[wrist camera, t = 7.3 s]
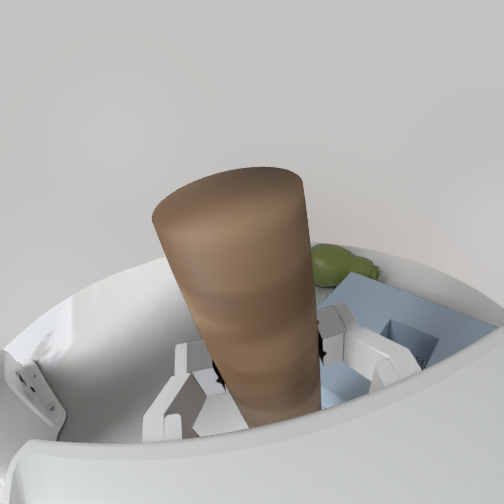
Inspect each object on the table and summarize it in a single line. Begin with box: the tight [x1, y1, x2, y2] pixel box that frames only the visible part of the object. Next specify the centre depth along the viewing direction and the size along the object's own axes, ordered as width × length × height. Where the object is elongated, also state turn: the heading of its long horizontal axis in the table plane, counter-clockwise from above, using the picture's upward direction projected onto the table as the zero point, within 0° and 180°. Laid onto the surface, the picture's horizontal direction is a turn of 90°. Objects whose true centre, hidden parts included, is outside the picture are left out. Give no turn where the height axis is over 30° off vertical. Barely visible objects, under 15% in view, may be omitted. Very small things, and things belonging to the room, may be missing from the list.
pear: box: [311, 244, 381, 287], centre depth 37 cm, size 6×5×10 cm
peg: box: [152, 167, 322, 428], centre depth 12 cm, size 4×4×16 cm
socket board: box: [316, 272, 498, 409], centre depth 24 cm, size 20×14×4 cm
